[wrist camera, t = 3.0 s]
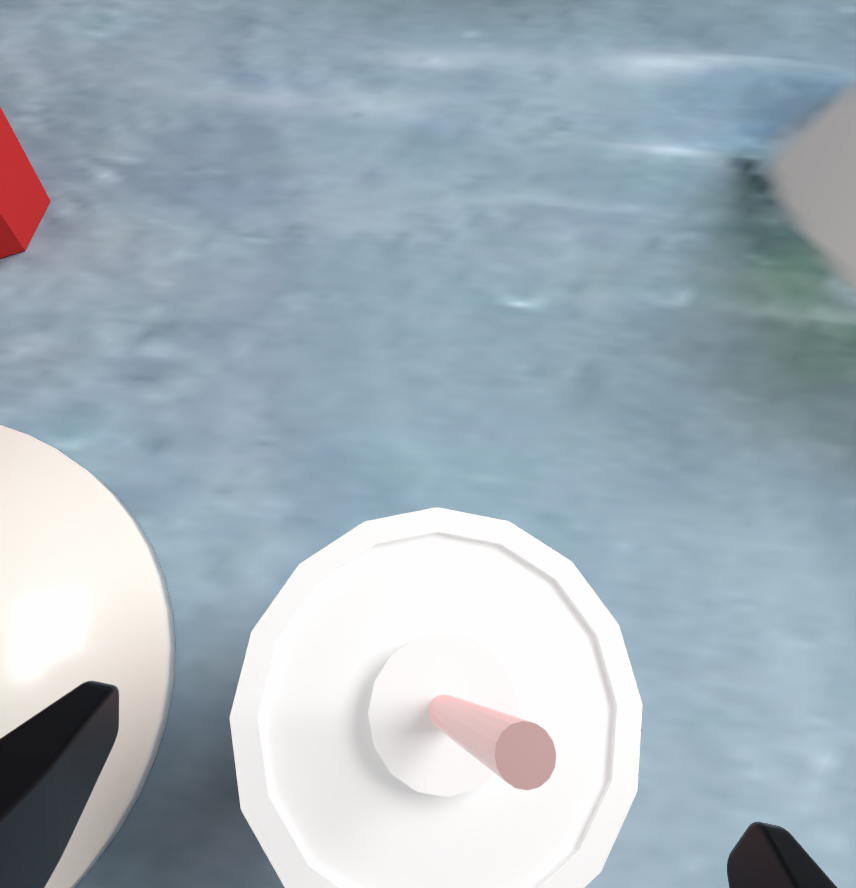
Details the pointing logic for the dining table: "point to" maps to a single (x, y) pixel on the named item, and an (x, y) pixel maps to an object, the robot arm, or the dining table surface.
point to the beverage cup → (436, 713)
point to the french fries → (17, 194)
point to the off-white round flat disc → (81, 623)
